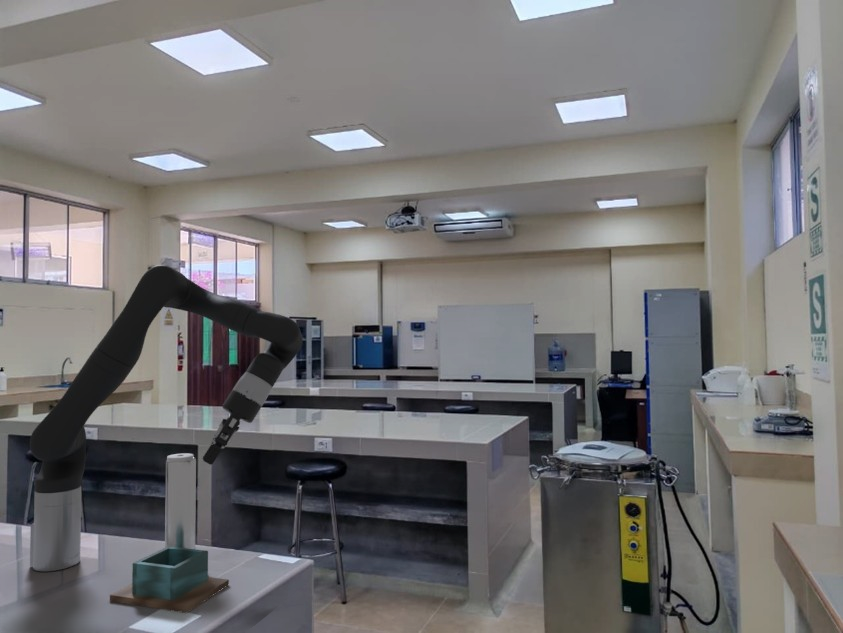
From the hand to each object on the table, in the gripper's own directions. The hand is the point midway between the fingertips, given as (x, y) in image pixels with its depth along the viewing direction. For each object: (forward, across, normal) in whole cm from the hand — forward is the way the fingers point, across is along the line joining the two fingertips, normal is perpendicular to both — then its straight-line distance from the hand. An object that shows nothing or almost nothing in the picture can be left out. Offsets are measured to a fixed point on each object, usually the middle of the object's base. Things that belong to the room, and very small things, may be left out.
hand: (206, 462), depth 129 cm
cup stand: (+25, +2, +8) cm, 26 cm away
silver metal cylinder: (+22, -13, +8) cm, 27 cm away
